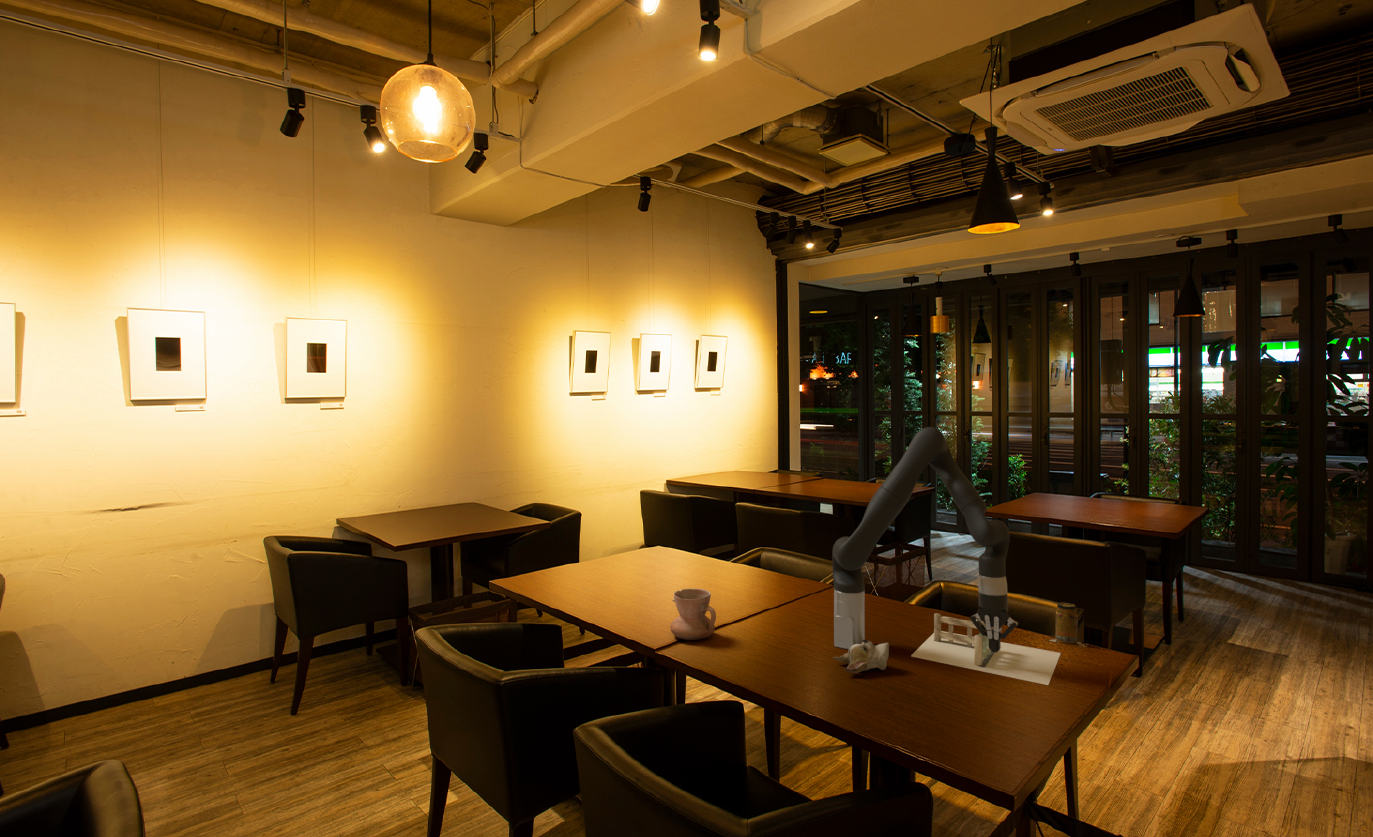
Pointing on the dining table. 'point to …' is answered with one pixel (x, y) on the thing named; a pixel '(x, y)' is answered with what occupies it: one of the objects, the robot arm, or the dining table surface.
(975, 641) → the fence gate
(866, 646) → the ceramic sculpture
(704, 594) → the ceramic jug
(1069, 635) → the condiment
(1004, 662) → the card
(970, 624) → the fence fixed
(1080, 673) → the dining table surface
